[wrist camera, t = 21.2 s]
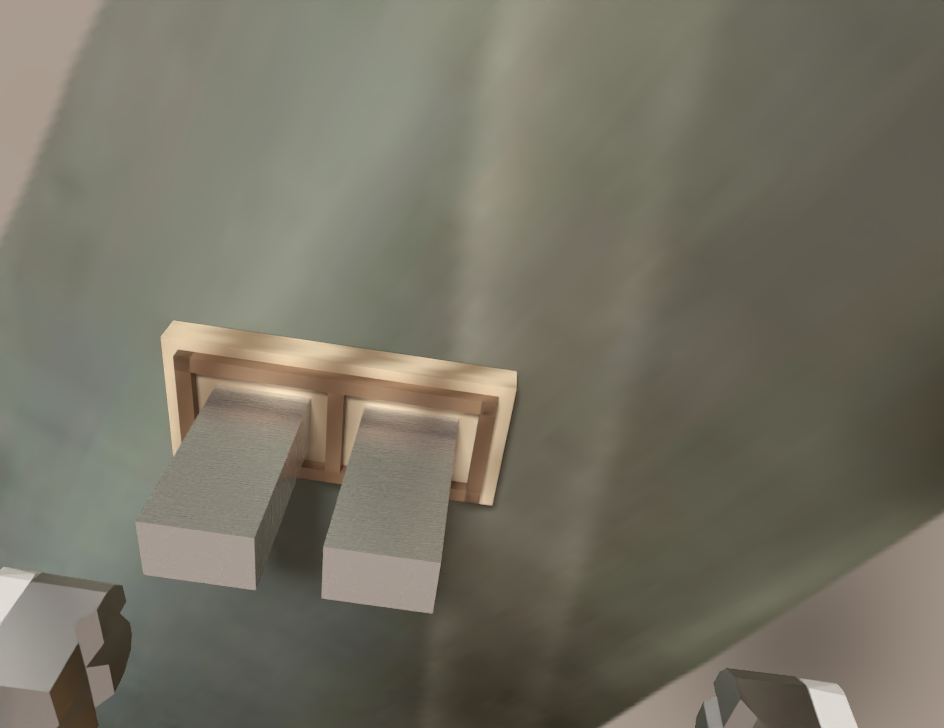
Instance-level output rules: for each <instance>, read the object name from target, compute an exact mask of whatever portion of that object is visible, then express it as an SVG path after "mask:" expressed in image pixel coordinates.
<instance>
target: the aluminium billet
mask: <svg viewBox="0 0 944 728" xmlns="http://www.w3.org/2000/svg"><path fill="white" fill-rule="evenodd" d="M458 420H459V418H452V417H445V416H438V415H431V414H424V413H417V412H410V411H403V410H396V409H389V408H382V407H375V406H369V405H365V408H364V411H363V414H362V418H361V421H360V425H359V428H358V431H357V435H356V438H355V441H354V445H353V448H352V452H351V455H350V458H349V462H348V465H347V468H346V472H345V475H344V479H343V482H342V485H341V489H340V492H339V496H338V499H337V502H336V506H335V509H334V512H333V516H332V519H331V523H330V526H329V529H328V533H327V536H326V539H325V543H324V546H323V570H322V598H323V599H330V600H337V601H344V602H352V603H359V604H366V605H373V606H381V607H388V608H395V609H403V610H410V611H417V612H424V613H432V614H433V609H434V603H435V597H436V590H437V584H438V578H439V572H440V566H441V559H442V550H443V542H444V534H445V526H446V518H447V510H448V501H449V493H450V485H451V477H452V469H453V461H454V453H455V444H456V436H457V428H458Z"/></svg>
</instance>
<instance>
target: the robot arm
mask: <svg viewBox="0 0 944 728" xmlns="http://www.w3.org/2000/svg"><path fill="white" fill-rule="evenodd" d="M125 603H126V599H125V594H124V590H123V586H122V585H118V584H112V583H105V582H99V581H93V580H86V579H80V578H74V577H67V576H61V575H55V574H48V573H44V572H37V571H30V570H23V569H16V568H9V567H3V568H2V569H0V728H98V726H99V724H98V720H97V715H96V711H95V707H96V706H98V705H99V704H101V703H102V702H103V701H105V700H106V699H107V698H109V697H110V696H112V695H113V694H114V693H115V691H116V689H117V687H118V685H119V683H120V681H121V679H122V677H123V674H124V672H125V669H126V665H127V662H128V658H129V655H130V651H131V639H132V632H131V626H130V622H129V621H128V620H127V619H125V618H124V617H123V616H122V615H121V614H120V612H121V610H122V608H123V606H124V604H125ZM714 687H715V692H716V696H714V697H713V698H710V699H709V700H707V701H705V702H703V704H702V706H701V709H700V711H699V713H698V715H697V718H696V725H695V728H858V727H857V724H856V722H855V719H854V717H853V714H852V711H851V709H850V706H849V704H848V701H847V698H846V696H845V693H844V692H843V690H842V689H841V688H840V687H839V686H838V684H835V683H831V682H825V681H816V680H808V679H798V678H796V677H793V676H786V675H778V674H769V673H762V672H753V671H746V670H737V669H729V668H726V669H724V670H722V671H721V672H719V674H718V676H717V678H716V680H715V681H714Z"/></svg>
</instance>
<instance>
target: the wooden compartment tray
mask: <svg viewBox="0 0 944 728" xmlns="http://www.w3.org/2000/svg"><path fill="white" fill-rule="evenodd" d="M161 345H162V354H163V364H164V373H165V382H166V392H167V401H168V410H169V420H170V429H171V438H172V448H173V457H174V455H175V453H176V452H177V450H178V448H179V447H180V445H181V443H182V441H183V440H184V438H185V436H186V435H187V433H188V431H189V430H190V428H191V426H192V424H193V423H194V421H195V419H196V418H197V416H198V414H199V413H200V411H201V409H202V408H203V406H204V404H205V402H206V401H207V399H208V397H209V396H210V394H211V392H212V391H213V389H214V387H215V385H216V384H217V385H224V386H231V387H238V388H245V389H252V390H258V391H265V392H272V393H279V394H286V395H293V396H299V397H306V398H310V437H309V448H308V451H307V454H306V456H305V459H304V462H303V464H302V467H301V470H300V472H299V475H298V478H301V479H308V480H315V481H322V482H329V483H336V484H342V482H343V479H344V475H345V472H346V468H347V465H348V462H349V458H350V455H351V452H352V448H353V445H354V441H355V438H356V435H357V431H358V428H359V425H360V421H361V418H362V414H363V411H364V408H365V405H369V406H375V407H382V408H389V409H396V410H403V411H410V412H417V413H424V414H431V415H438V416H445V417H452V418H459V420H458V428H457V436H456V444H455V453H454V461H453V469H452V477H451V485H450V493H449V500H454V501H461V502H468V503H475V504H484V505H491V506H492V504H493V499H494V495H495V490H496V485H497V480H498V476H499V471H500V466H501V461H502V457H503V452H504V447H505V442H506V438H507V433H508V428H509V423H510V418H511V414H512V409H513V404H514V399H515V395H516V390H517V371H511V370H505V369H498V368H491V367H484V366H478V365H471V364H464V363H457V362H451V361H444V360H437V359H430V358H424V357H417V356H410V355H403V354H397V353H390V352H383V351H376V350H370V349H363V348H356V347H349V346H343V345H336V344H329V343H322V342H316V341H309V340H302V339H295V338H289V337H282V336H275V335H268V334H262V333H255V332H248V331H242V330H235V329H228V328H221V327H215V326H208V325H201V324H194V323H188V322H181V321H174V320H173V321H172V323H171V324H170V325H169V327H168V328H167V329H166V331H165V332H164V333H163V334H162V336H161Z"/></svg>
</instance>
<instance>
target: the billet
mask: <svg viewBox="0 0 944 728" xmlns="http://www.w3.org/2000/svg"><path fill="white" fill-rule="evenodd" d="M309 437H310V398H306V397H299V396H293V395H286V394H279V393H272V392H265V391H258V390H252V389H245V388H238V387H231V386H224V385H217V384H216V385H215V387H214V389H213V391H212V392H211V394H210V396H209V397H208V399H207V401H206V402H205V404H204V406H203V408H202V409H201V411H200V413H199V414H198V416H197V418H196V419H195V421H194V423H193V424H192V426H191V428H190V430H189V431H188V433H187V435H186V436H185V438H184V440H183V441H182V443H181V445H180V447H179V448H178V450H177V452H176V453H175V455H174V457H173V458H172V460H171V462H170V464H169V465H168V467H167V469H166V470H165V472H164V474H163V475H162V477H161V479H160V480H159V482H158V484H157V486H156V487H155V489H154V491H153V492H152V494H151V496H150V497H149V499H148V501H147V503H146V504H145V506H144V508H143V509H142V511H141V513H140V514H139V516H138V518H137V519H136V521H135V522H136V529H137V535H138V542H139V548H140V555H141V561H142V568H143V574H144V575H150V576H157V577H165V578H172V579H179V580H186V581H193V582H200V583H207V584H215V585H222V586H229V587H236V588H243V589H250V590H256V589H257V586H258V583H259V581H260V578H261V575H262V572H263V570H264V567H265V564H266V562H267V559H268V556H269V554H270V551H271V548H272V545H273V543H274V540H275V537H276V535H277V532H278V529H279V527H280V524H281V521H282V518H283V516H284V513H285V510H286V508H287V505H288V502H289V499H290V497H291V494H292V491H293V489H294V486H295V483H296V481H297V478H298V475H299V472H300V470H301V467H302V464H303V462H304V459H305V456H306V454H307V451H308V448H309Z"/></svg>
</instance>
